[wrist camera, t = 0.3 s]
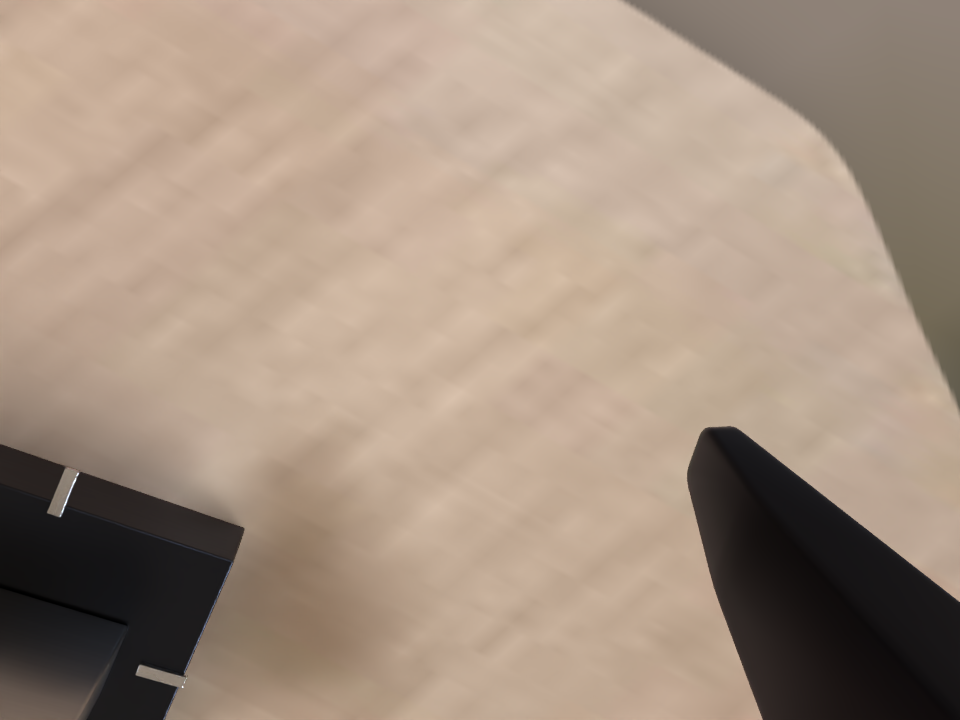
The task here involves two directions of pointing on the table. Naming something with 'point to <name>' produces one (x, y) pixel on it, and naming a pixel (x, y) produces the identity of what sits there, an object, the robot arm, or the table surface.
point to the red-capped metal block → (52, 659)
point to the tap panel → (115, 571)
